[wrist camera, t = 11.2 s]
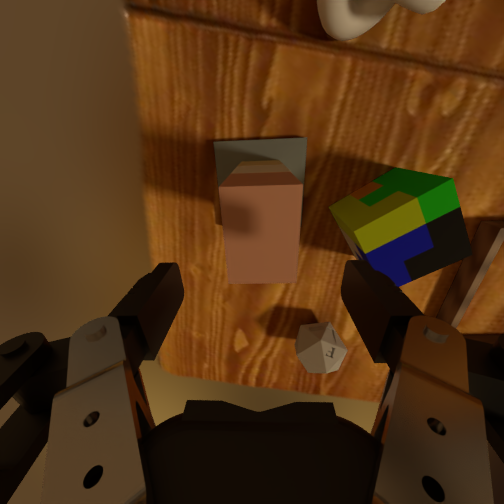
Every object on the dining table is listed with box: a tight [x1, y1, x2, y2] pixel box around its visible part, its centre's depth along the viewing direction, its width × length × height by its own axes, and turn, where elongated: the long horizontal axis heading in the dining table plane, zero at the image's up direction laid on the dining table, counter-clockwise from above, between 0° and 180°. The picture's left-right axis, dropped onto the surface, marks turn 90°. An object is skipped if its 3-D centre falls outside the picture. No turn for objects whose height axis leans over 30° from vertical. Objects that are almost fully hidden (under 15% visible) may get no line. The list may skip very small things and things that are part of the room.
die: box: [295, 322, 347, 373], centre depth 39 cm, size 8×9×10 cm
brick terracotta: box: [219, 172, 303, 284], centre depth 17 cm, size 7×5×6 cm
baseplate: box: [214, 138, 307, 227], centre depth 31 cm, size 12×12×1 cm
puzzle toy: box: [329, 167, 473, 287], centre depth 28 cm, size 10×10×10 cm
